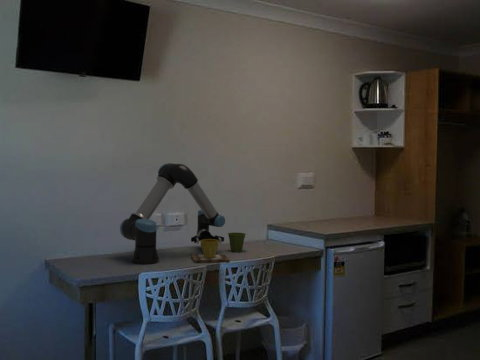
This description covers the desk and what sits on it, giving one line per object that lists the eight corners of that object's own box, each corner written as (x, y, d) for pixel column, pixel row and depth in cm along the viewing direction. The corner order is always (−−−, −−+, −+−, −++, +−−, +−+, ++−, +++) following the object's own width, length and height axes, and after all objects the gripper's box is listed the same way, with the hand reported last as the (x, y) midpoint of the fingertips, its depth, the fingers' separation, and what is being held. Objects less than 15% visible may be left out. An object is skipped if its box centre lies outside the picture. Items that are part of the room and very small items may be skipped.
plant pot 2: (249, 251, 327) (249, 233, 326) (236, 253, 319) (236, 235, 318) (236, 248, 335) (237, 231, 335) (223, 250, 327) (223, 233, 327)
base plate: (194, 263, 286) (194, 260, 286) (191, 257, 302) (191, 254, 302) (229, 262, 291) (229, 259, 290) (224, 256, 306) (224, 254, 306)
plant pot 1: (196, 257, 294) (197, 240, 294) (206, 254, 303) (206, 238, 303) (212, 259, 289) (212, 242, 289) (221, 256, 298) (221, 240, 298)
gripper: (224, 241, 326) (230, 247, 305) (185, 242, 321) (188, 248, 300) (224, 230, 325) (230, 235, 305) (185, 230, 321) (188, 235, 300)
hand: (209, 241), depth 302 cm, fingers open, 13 cm apart
